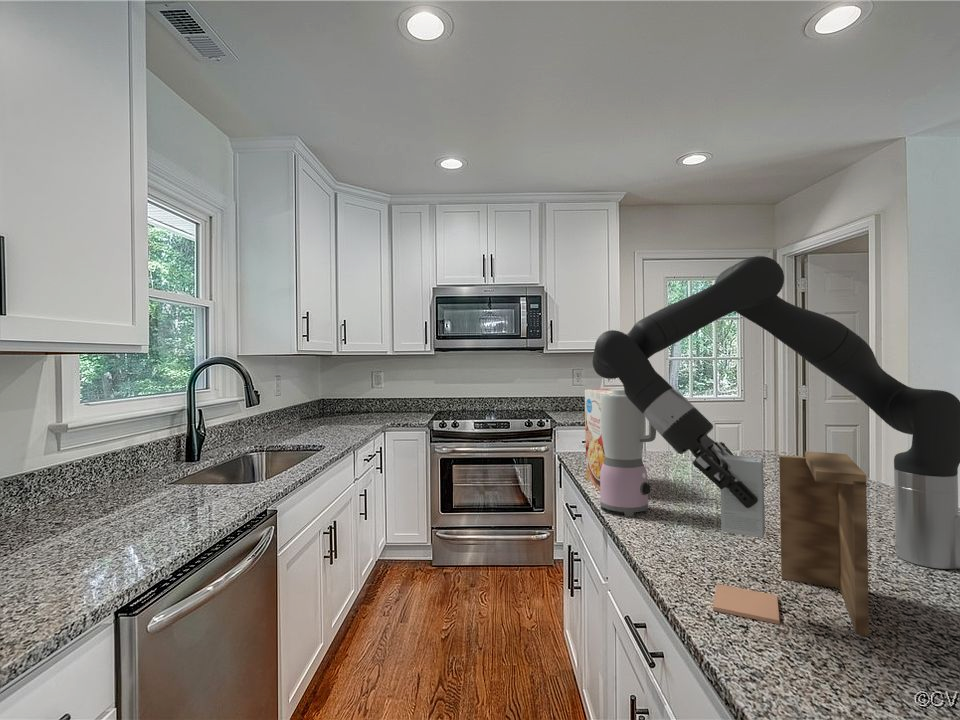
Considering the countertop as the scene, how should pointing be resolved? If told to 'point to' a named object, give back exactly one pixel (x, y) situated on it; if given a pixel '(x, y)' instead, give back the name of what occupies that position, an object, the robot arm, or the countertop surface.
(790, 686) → the countertop surface
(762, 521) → the skincare box
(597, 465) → the pasta box
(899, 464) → the robot arm
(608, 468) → the blender
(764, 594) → the terracotta tile
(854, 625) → the walnut cubby
